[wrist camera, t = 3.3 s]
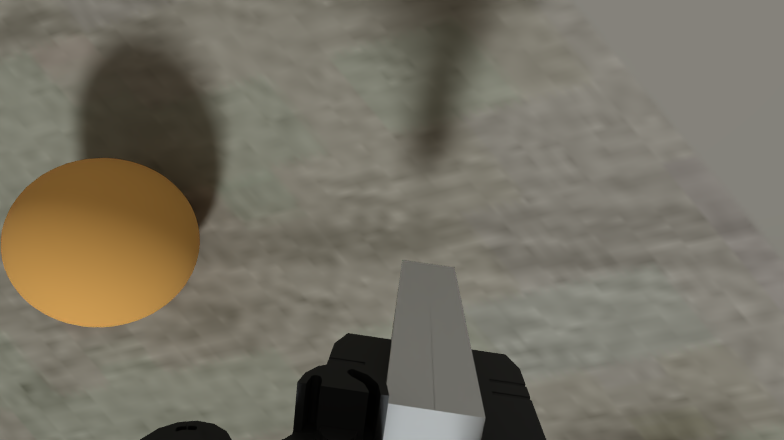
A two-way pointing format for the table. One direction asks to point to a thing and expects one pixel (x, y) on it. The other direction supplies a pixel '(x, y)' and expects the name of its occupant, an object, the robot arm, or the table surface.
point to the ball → (100, 242)
